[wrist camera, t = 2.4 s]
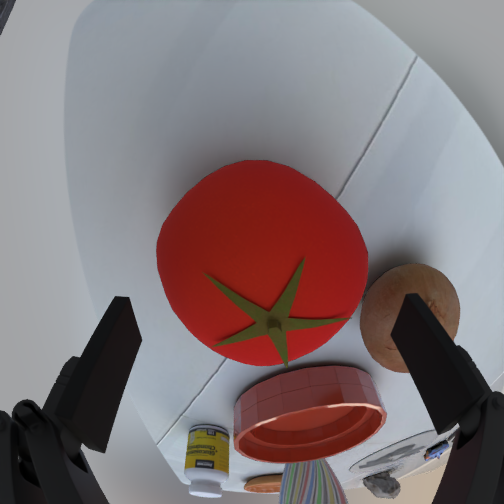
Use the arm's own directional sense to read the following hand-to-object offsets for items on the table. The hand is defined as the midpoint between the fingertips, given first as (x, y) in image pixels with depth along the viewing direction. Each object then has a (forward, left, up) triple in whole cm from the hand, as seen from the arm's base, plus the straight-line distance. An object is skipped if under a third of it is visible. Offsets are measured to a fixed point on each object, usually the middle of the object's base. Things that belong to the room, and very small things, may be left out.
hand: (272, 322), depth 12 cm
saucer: (+70, +6, -10) cm, 71 cm away
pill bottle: (+34, -7, -10) cm, 36 cm away
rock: (+96, +48, -10) cm, 108 cm away
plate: (+67, +41, -10) cm, 79 cm away
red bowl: (+25, +7, -10) cm, 28 cm away
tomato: (0, 0, -10) cm, 10 cm away
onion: (+6, +13, -10) cm, 17 cm away
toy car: (+81, +65, -10) cm, 104 cm away
